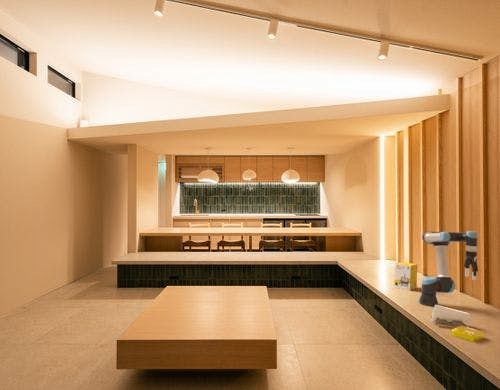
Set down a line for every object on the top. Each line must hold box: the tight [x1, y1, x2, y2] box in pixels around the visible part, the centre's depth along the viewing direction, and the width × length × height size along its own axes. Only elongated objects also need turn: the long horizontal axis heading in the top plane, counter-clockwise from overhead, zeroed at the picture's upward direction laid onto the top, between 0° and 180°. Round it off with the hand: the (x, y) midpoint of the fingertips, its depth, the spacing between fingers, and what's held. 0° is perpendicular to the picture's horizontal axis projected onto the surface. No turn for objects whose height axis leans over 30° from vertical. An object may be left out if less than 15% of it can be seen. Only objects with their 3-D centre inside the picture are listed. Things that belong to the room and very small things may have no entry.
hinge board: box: [430, 315, 469, 330], centre depth 265 cm, size 20×20×4 cm
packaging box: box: [393, 261, 418, 291], centre depth 375 cm, size 16×16×25 cm
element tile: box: [451, 326, 485, 343], centre depth 242 cm, size 15×15×5 cm
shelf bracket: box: [430, 304, 472, 324], centre depth 265 cm, size 6×25×13 cm, turn 84°
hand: (470, 278), depth 279 cm, fingers open, 13 cm apart
